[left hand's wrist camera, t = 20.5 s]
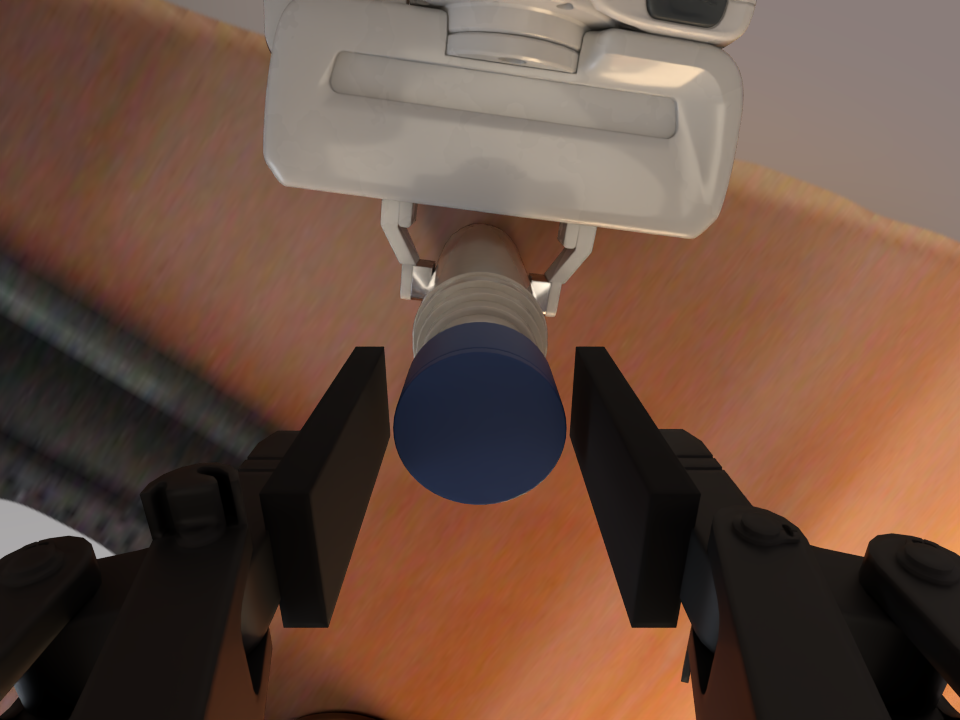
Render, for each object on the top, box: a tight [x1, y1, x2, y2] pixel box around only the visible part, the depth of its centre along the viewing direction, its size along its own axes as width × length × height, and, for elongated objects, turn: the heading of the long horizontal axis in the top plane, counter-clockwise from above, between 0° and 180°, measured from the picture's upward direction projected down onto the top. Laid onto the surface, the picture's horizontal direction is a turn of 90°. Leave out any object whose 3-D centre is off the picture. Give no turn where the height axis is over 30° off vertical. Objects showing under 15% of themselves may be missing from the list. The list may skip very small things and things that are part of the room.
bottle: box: [413, 224, 548, 358], centre depth 22 cm, size 5×5×20 cm
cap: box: [393, 322, 567, 505], centre depth 13 cm, size 4×4×2 cm
